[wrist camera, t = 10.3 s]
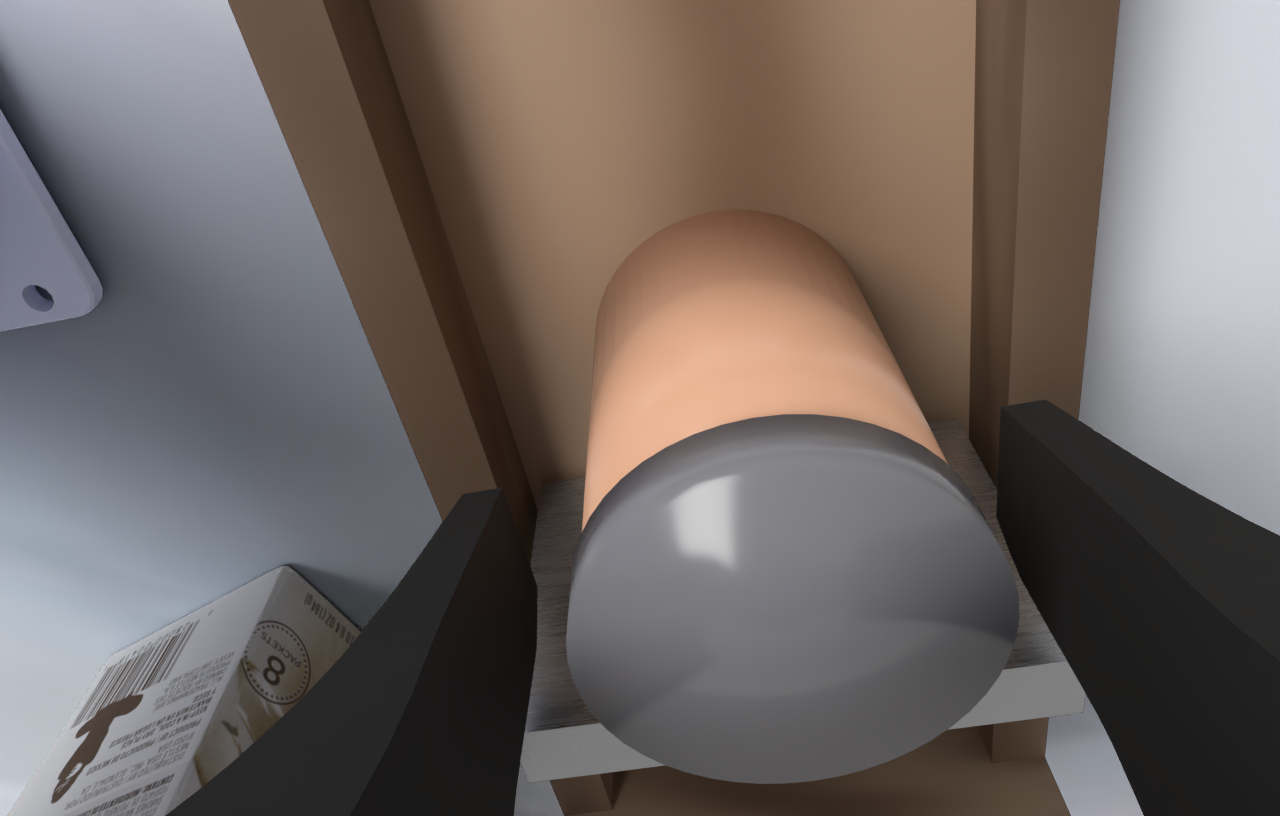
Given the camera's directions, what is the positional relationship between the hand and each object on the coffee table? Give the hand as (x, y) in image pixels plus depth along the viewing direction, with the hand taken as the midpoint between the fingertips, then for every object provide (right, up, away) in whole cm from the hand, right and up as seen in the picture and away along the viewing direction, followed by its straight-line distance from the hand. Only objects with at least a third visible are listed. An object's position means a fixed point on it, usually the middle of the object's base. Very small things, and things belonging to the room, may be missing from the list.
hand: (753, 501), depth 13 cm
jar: (0, +3, +4) cm, 5 cm away
